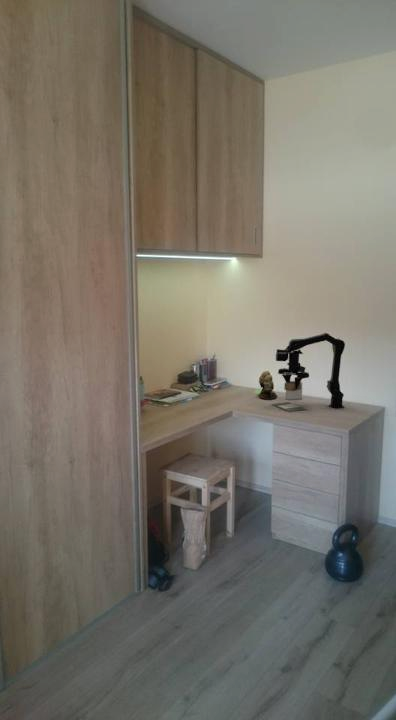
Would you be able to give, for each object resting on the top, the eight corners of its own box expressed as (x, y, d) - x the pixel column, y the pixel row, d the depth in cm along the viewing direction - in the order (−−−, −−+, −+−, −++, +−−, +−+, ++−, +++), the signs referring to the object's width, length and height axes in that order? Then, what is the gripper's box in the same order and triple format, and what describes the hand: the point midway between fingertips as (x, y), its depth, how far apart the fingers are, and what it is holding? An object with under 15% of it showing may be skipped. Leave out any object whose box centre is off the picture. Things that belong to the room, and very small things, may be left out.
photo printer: (300, 397, 328) (301, 378, 326) (302, 399, 324) (303, 379, 322) (284, 398, 327) (285, 379, 325) (286, 400, 323) (287, 380, 321)
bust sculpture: (279, 400, 322) (279, 373, 319) (260, 400, 322) (260, 373, 319) (275, 393, 339) (275, 368, 337) (257, 394, 339) (257, 368, 337)
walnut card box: (291, 391, 300) (292, 384, 299) (284, 389, 304) (284, 382, 304) (300, 389, 305) (300, 382, 304) (293, 387, 309) (293, 380, 309)
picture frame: (306, 409, 300) (306, 408, 299) (288, 412, 295) (288, 410, 294) (288, 402, 316) (288, 401, 316) (271, 404, 311) (271, 403, 311)
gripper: (315, 362, 300) (314, 388, 303) (290, 357, 314) (289, 383, 317) (303, 364, 293) (302, 391, 296) (278, 359, 307) (277, 385, 310)
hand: (292, 387), depth 305 cm, fingers closed on walnut card box, 5 cm apart
